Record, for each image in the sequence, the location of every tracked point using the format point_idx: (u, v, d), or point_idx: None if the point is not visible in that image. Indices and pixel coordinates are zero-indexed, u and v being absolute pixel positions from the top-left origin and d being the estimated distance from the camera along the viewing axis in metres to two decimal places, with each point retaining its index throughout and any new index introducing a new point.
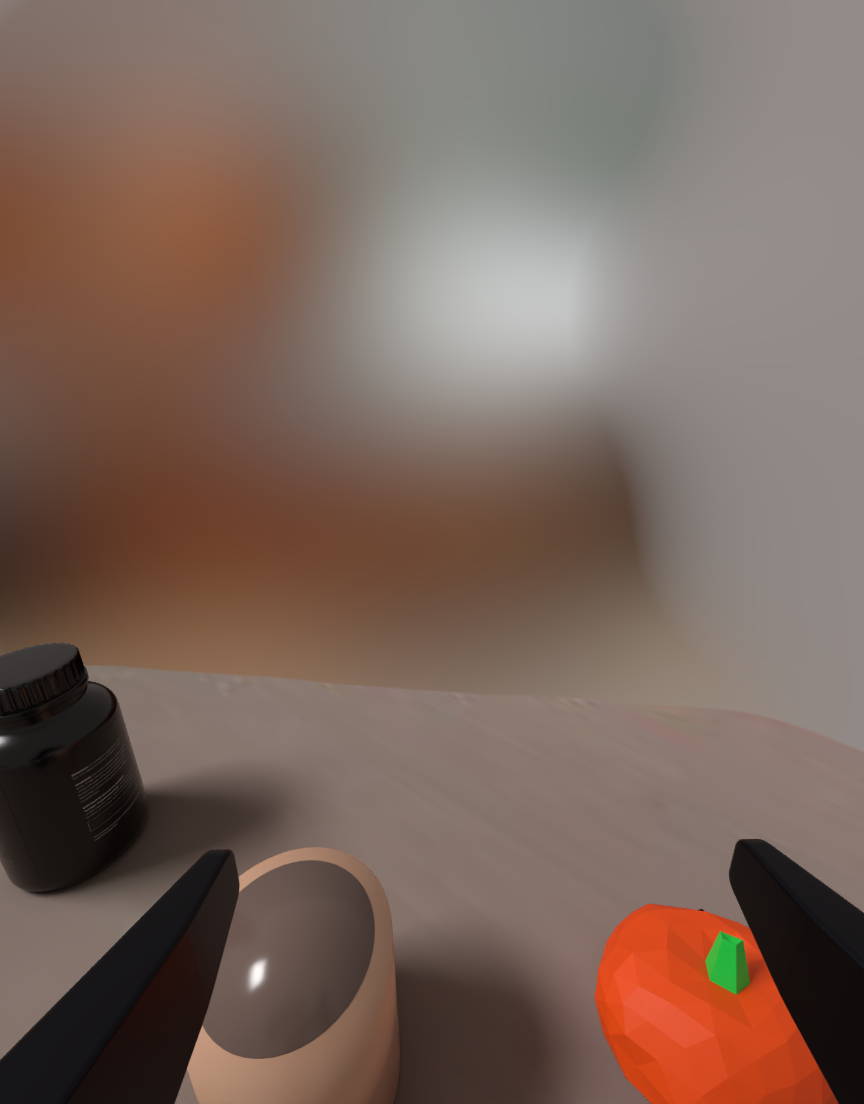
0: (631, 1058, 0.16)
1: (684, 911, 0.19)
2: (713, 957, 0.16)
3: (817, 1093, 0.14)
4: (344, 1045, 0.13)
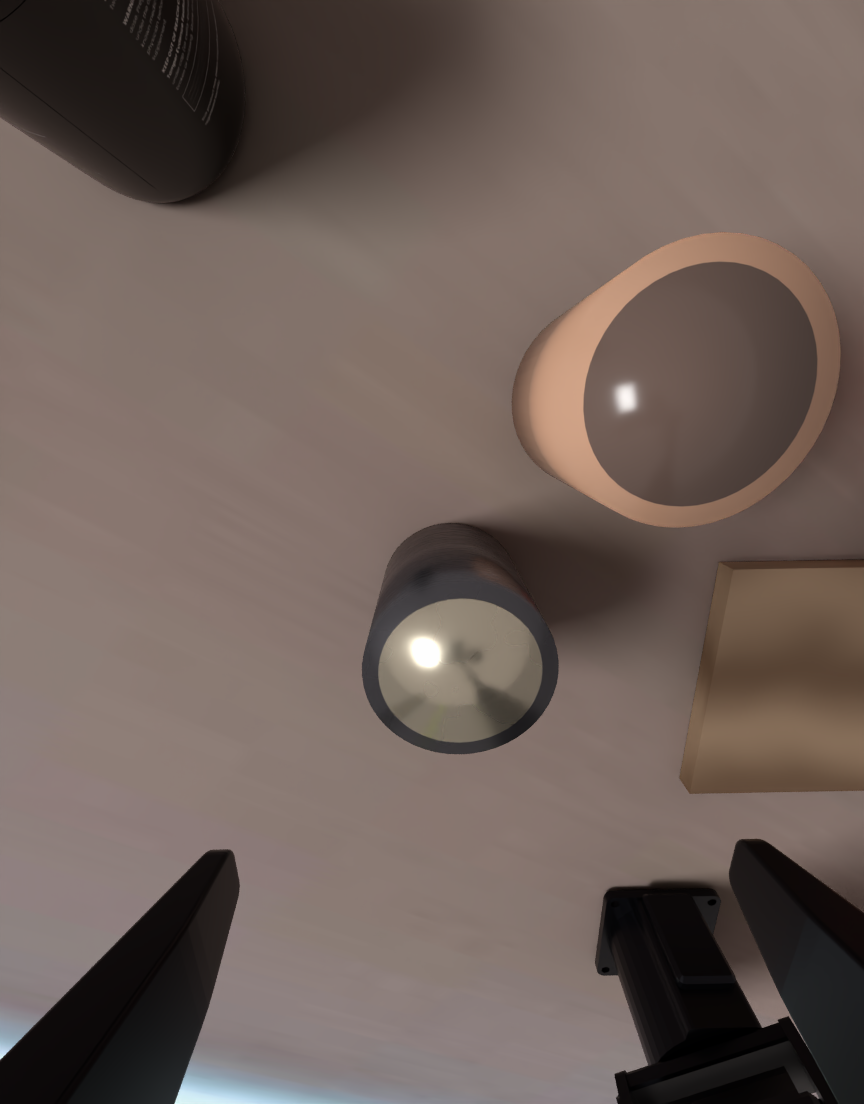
0: None
1: None
2: None
3: None
4: (765, 493, 0.12)
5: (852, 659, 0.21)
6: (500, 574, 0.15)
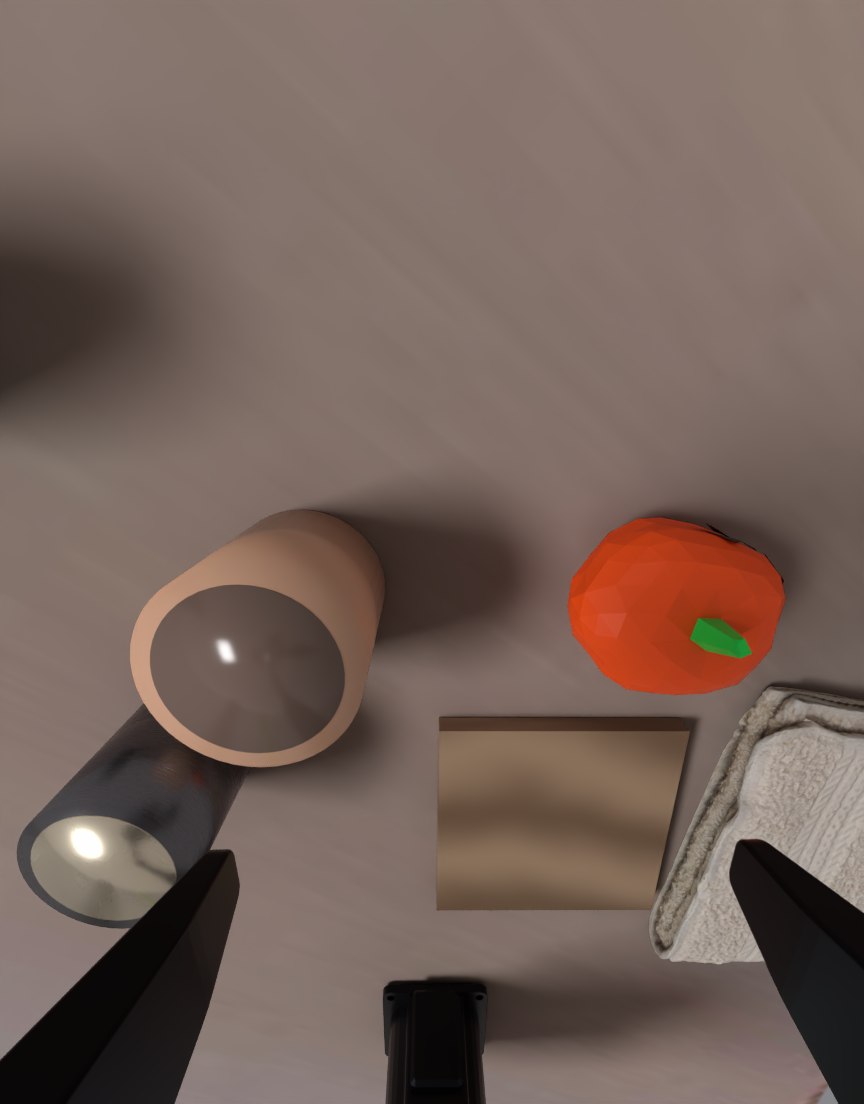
0: (583, 642, 0.18)
1: (712, 567, 0.16)
2: (707, 636, 0.16)
3: None
4: (331, 742, 0.15)
5: (561, 804, 0.23)
6: (154, 777, 0.17)
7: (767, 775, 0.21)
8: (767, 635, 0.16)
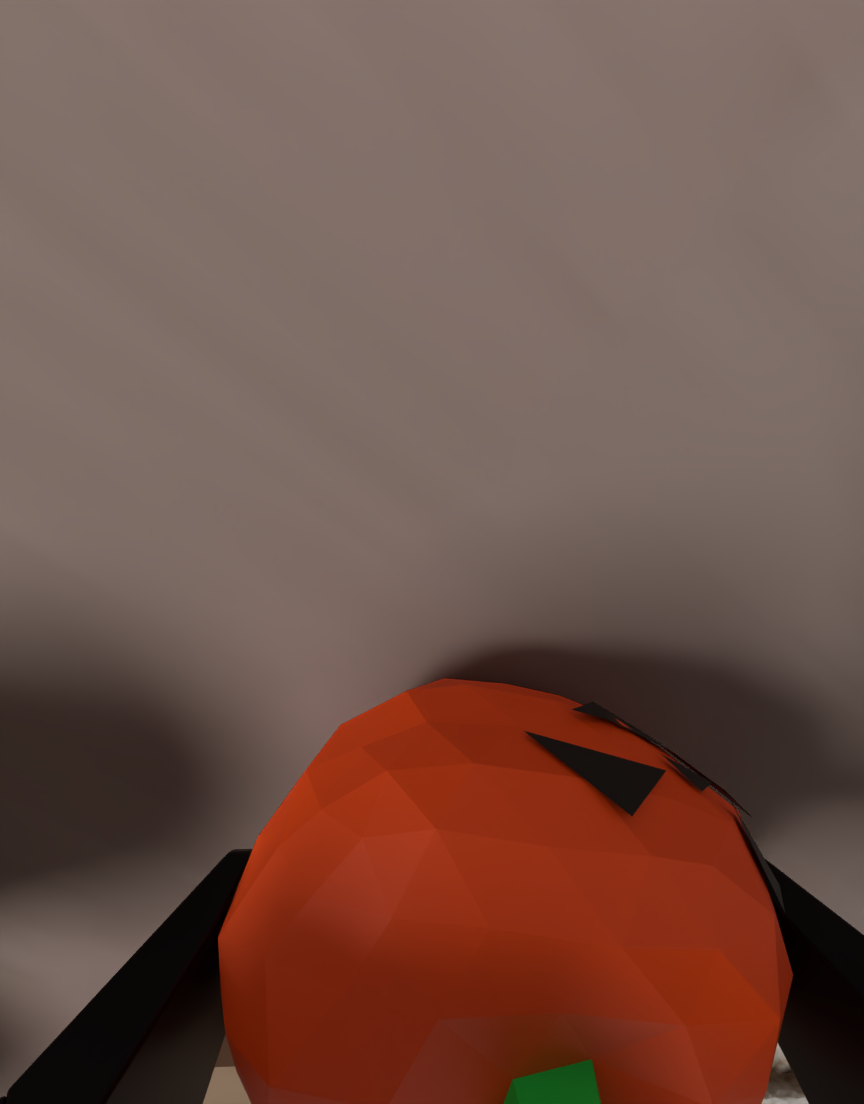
0: None
1: (539, 944, 0.05)
2: None
3: None
4: None
5: None
6: None
7: None
8: None
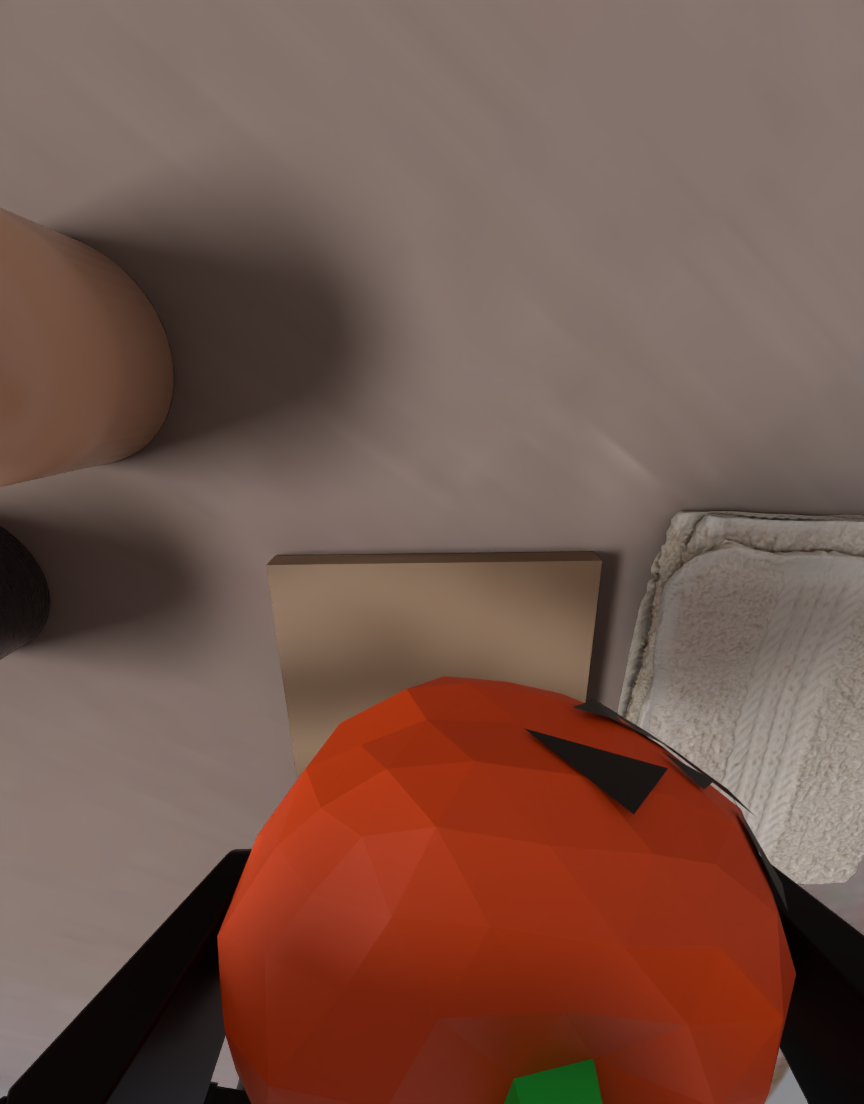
0: None
1: (540, 943, 0.05)
2: None
3: None
4: None
5: (441, 669, 0.18)
6: None
7: (684, 625, 0.16)
8: None
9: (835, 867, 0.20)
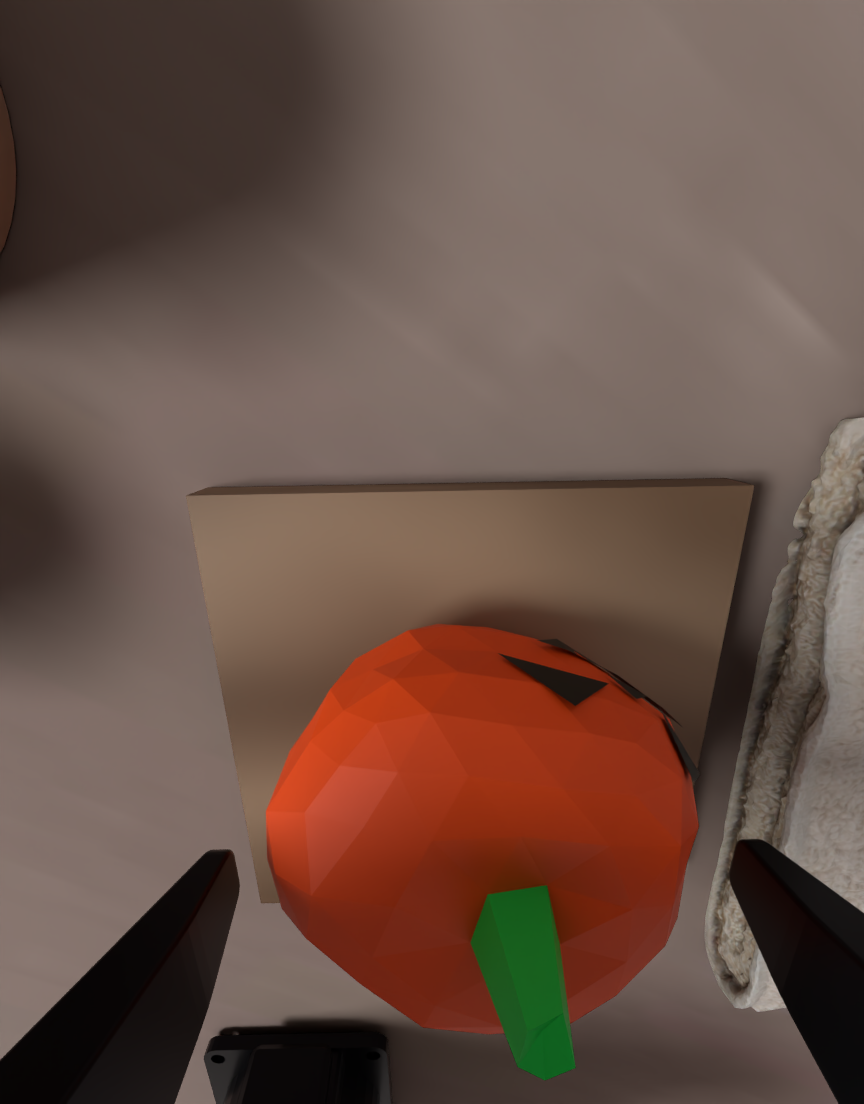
0: None
1: (504, 786, 0.07)
2: (491, 965, 0.06)
3: None
4: None
5: None
6: None
7: None
8: (653, 926, 0.07)
9: None
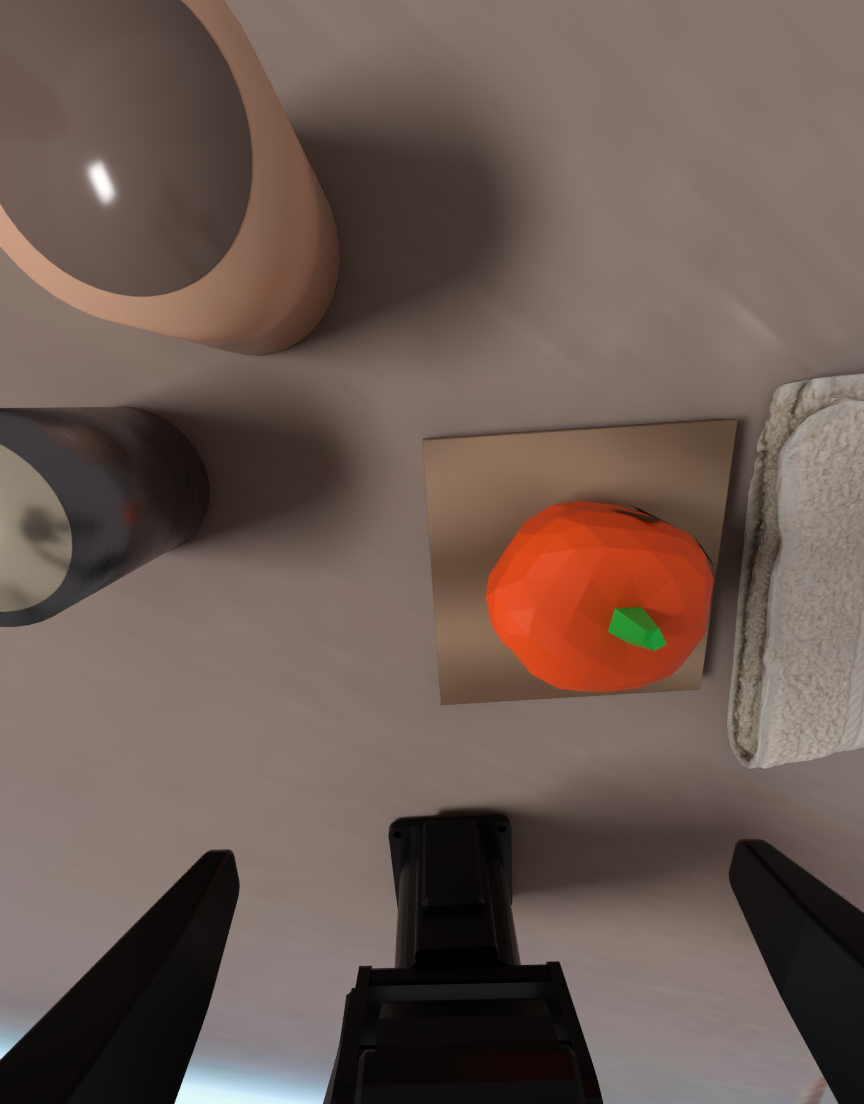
0: None
1: (623, 552, 0.14)
2: (622, 628, 0.14)
3: None
4: (248, 276, 0.11)
5: None
6: (38, 417, 0.13)
7: (804, 486, 0.17)
8: (694, 621, 0.15)
9: None
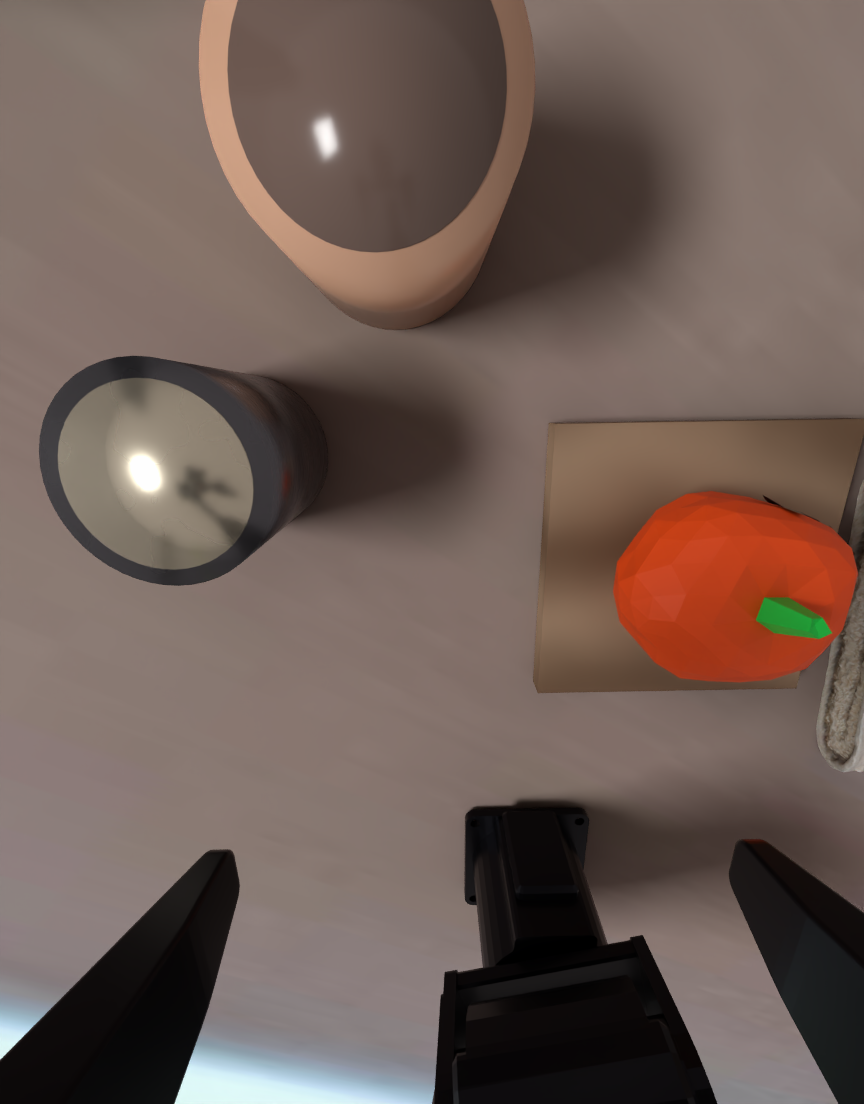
0: (632, 629, 0.17)
1: (778, 540, 0.14)
2: (777, 616, 0.14)
3: None
4: (476, 237, 0.10)
5: None
6: (218, 374, 0.13)
7: None
8: (840, 613, 0.15)
9: None
